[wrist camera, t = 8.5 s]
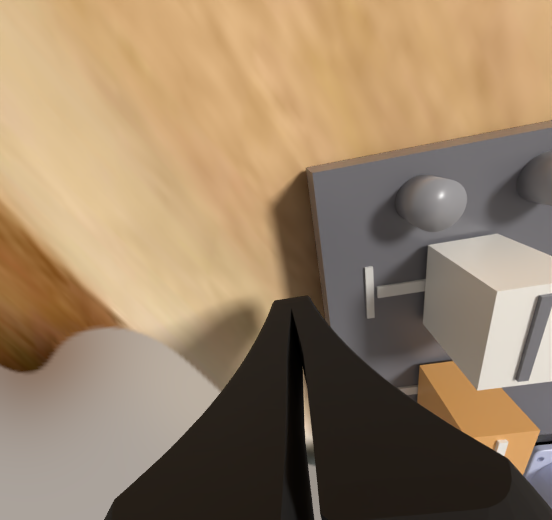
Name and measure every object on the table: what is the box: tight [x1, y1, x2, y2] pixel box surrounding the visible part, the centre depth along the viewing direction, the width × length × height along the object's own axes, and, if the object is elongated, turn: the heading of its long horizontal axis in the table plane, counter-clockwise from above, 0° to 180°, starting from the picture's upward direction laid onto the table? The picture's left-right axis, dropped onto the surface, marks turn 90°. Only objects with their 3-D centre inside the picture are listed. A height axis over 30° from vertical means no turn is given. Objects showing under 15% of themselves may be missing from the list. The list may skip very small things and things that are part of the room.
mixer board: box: [306, 120, 552, 435], centre depth 11 cm, size 16×19×3 cm
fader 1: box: [423, 234, 552, 391], centre depth 8 cm, size 4×2×3 cm, turn 10°
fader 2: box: [417, 361, 540, 475], centre depth 11 cm, size 4×2×3 cm, turn 10°
